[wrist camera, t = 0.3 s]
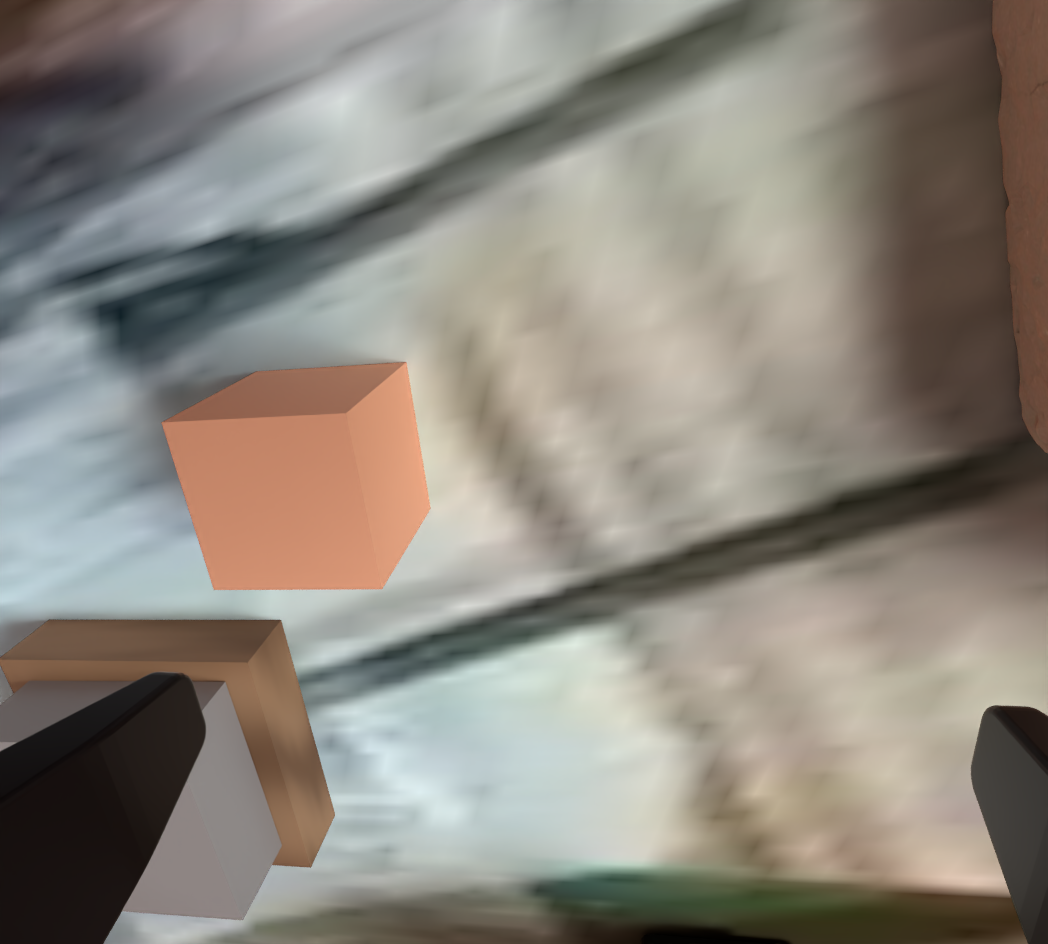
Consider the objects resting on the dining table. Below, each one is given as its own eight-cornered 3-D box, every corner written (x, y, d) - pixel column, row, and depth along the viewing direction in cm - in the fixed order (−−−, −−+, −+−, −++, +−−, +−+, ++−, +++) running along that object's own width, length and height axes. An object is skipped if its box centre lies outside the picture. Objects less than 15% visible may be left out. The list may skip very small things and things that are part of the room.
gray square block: (281, 845, 27) (242, 920, 25) (103, 836, 29) (48, 905, 26) (225, 681, 24) (173, 746, 22) (29, 680, 26) (-42, 740, 23)
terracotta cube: (431, 507, 23) (381, 589, 19) (292, 510, 24) (213, 589, 20) (407, 361, 21) (345, 413, 17) (257, 370, 22) (161, 422, 18)
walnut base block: (339, 805, 30) (310, 867, 28) (135, 795, 32) (89, 853, 29) (287, 612, 27) (247, 662, 24) (58, 612, 28) (-3, 659, 26)
